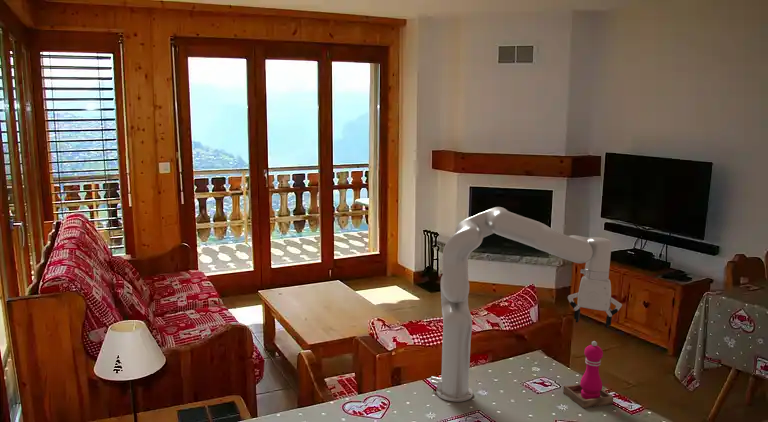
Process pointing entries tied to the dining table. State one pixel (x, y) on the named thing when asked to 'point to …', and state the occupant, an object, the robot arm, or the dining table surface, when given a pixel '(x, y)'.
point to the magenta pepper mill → (592, 372)
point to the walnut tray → (575, 395)
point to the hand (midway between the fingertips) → (592, 324)
